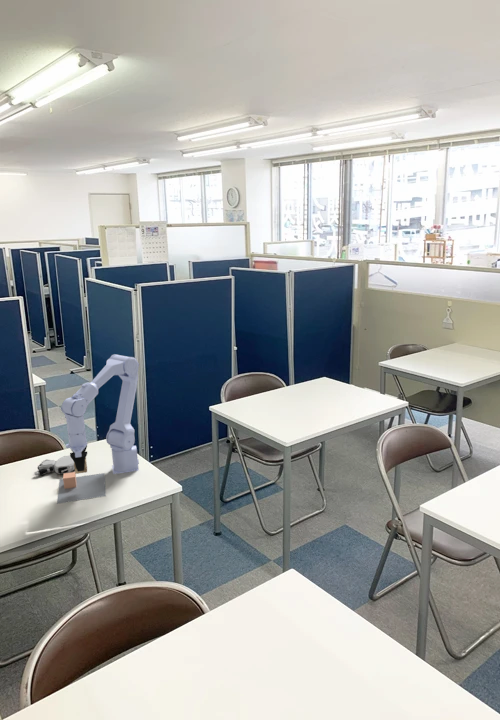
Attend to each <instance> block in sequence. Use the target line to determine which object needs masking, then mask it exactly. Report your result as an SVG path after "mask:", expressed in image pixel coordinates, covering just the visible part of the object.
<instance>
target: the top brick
mask: <svg viewBox="0 0 500 720" xmlns="http://www.w3.org/2000/svg"><path fill="white" fill-rule="evenodd" d="M74 472H75V474H76V475H77V474H84V473H88V464H87V457H86V458H85V467H84V471H79V472H78V471H77V468H76V465H75V463H74Z"/></svg>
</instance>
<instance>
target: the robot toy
mask: <svg viewBox="0 0 500 720" xmlns="http://www.w3.org/2000/svg"><path fill="white" fill-rule="evenodd" d="M37 470H38V471H35V472H34V475H35V476H38V475H39V476H42V475H45V474H47V473H54V472H55V473H56V474H59V475H60V474H63V475H64V474H65V473H72V472H74V471H75V469H74V461H73V459H72V458H71V457H70V454H69V455H64V456H61V457H59V458H58V459H57V460H54V459H45V460H43V461H41V463H39V465H37Z"/></svg>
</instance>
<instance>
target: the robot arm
mask: <svg viewBox="0 0 500 720" xmlns="http://www.w3.org/2000/svg"><path fill="white" fill-rule="evenodd" d="M139 366H140V363H139V362H138V360H137V358H135V357H134V356H126V355H120V354H115V353H114V354H111V356H110V357H109V358H108V359H107V360H106V365H104V366H103V368H102V369H101V370H100V371H99V372H98V373H97V374H96V376H95V377H94V378H93V379H92V381H90V382H88V381H87V382H85V383H82V384H81V387H80V388H79V389H78V390H77V391H76V392H75V393H73V395H72V396H71V397H67V398H65V399H64V400H63V402H62V404H61V406H60V411H61V413H63V414H64V417H65V420H66V421H65V422H66V428H67V434H68V435H67V436H68V443H66V444H65V448H67V449H70V451H71V452H70V454H69V455H70V457H71V458H72V459H73V461H74V463H75V465H76V468H77V471H78V472H79V471H84V467H85V458H86V459H87V456H88V451H86V450H87V447H88V441H87V435H86V427H85V426H86V425H85V418H84V414H85V413H86V412H87V407H89V404H90V403H91V402H92V401H93V400H94V399H95V398H96V397H97V396H98V395H99V389H100V388H101V387H102V386H103V385H105V384H106V383H107V382H108V381H109V380H110V379H111V378H113V376H118V377H119V378H120V379H121V380H122V382H121V383H122V384H121V389H120V393H119V399H118V406H117V412H116V415H115V416H116V417H115V421H114V422H113V423H112V424H110V425H109V429H108V431H107V433H106V437H105V438H106V439H105V440H106V443H107V444H108V445H109V447H110V449H111V456H112V465H111V467H112V468H111V469H112V475H119V474H124V473H129V472H137V471H138V472H139V471H140V470H139V469H140V467H139V464H140V462H139V459H138V449H137V445H134V444H135V443H136V442H135V441H136V439H135V429H134V427H133V426H132V424H131V420H132V415H133V409H134V405H135V404H134V403H135V398H136V393H137V387H138V381H139V368H140V367H139Z"/></svg>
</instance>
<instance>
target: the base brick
mask: <svg viewBox="0 0 500 720" xmlns="http://www.w3.org/2000/svg"><path fill="white" fill-rule="evenodd" d="M76 477H77V474H75V471H71V472H69V473H65V474H63V478H62V479H63V481H64V489H67V488H73V487H76Z"/></svg>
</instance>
